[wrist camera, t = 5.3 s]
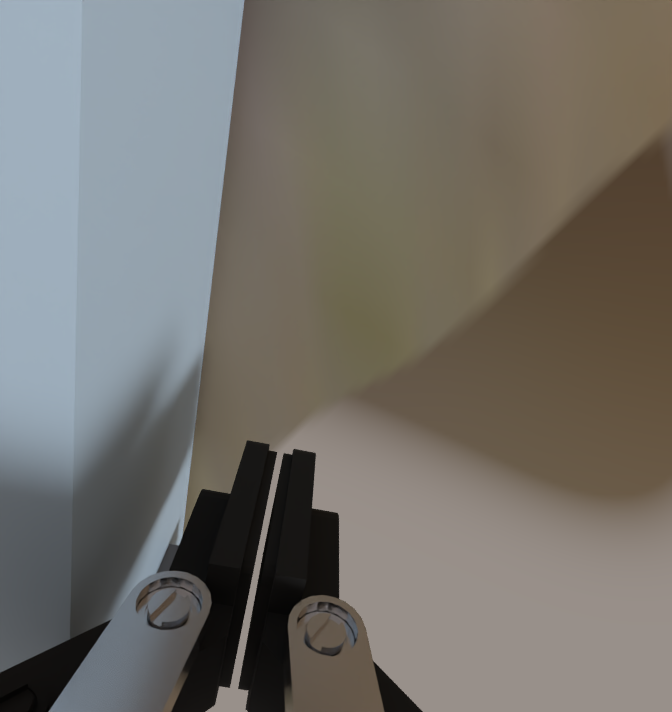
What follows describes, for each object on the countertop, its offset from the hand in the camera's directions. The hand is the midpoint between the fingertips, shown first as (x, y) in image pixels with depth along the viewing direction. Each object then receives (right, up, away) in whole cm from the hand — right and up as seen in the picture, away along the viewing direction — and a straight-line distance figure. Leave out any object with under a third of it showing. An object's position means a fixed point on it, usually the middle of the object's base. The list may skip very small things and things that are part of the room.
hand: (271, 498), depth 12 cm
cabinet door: (-2, +4, +2) cm, 5 cm away
